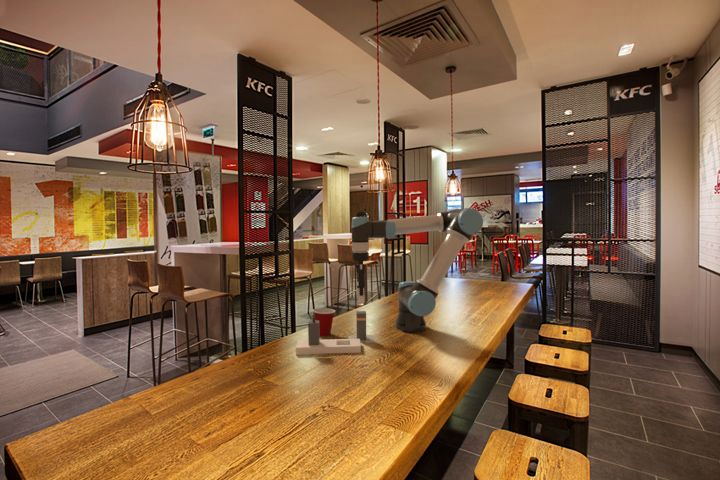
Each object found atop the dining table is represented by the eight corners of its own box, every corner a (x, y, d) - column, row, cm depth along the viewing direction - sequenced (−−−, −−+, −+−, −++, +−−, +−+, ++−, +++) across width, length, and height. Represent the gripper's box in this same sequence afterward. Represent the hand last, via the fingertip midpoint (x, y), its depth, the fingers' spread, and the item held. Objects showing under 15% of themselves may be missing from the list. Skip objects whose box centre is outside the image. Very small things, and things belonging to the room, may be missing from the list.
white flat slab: (373, 335, 169) (373, 334, 169) (375, 343, 159) (375, 342, 159) (347, 336, 168) (347, 335, 168) (348, 343, 158) (348, 342, 158)
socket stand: (359, 345, 156) (359, 311, 155) (360, 353, 147) (360, 316, 146) (298, 347, 155) (297, 312, 154) (295, 355, 146) (295, 318, 145)
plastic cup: (340, 334, 170) (340, 309, 170) (322, 340, 163) (321, 313, 162) (326, 329, 178) (326, 305, 178) (308, 334, 171) (307, 309, 170)
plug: (365, 337, 166) (365, 311, 165) (366, 340, 161) (366, 313, 161) (356, 337, 165) (356, 311, 165) (356, 340, 161) (356, 313, 160)
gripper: (351, 249, 173) (351, 293, 175) (352, 254, 148) (352, 306, 150) (367, 249, 174) (367, 293, 175) (370, 254, 149) (371, 305, 150)
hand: (360, 299), depth 162 cm, fingers open, 13 cm apart
